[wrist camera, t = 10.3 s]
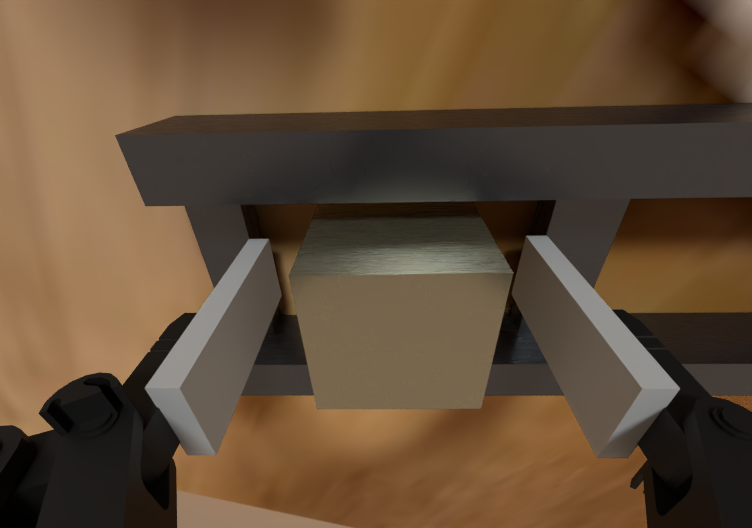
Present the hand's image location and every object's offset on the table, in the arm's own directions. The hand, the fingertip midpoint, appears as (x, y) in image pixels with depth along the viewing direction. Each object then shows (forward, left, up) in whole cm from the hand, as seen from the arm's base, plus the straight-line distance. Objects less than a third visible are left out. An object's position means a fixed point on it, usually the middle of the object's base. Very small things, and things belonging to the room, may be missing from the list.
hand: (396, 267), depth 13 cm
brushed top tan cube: (0, 0, -1) cm, 1 cm away
